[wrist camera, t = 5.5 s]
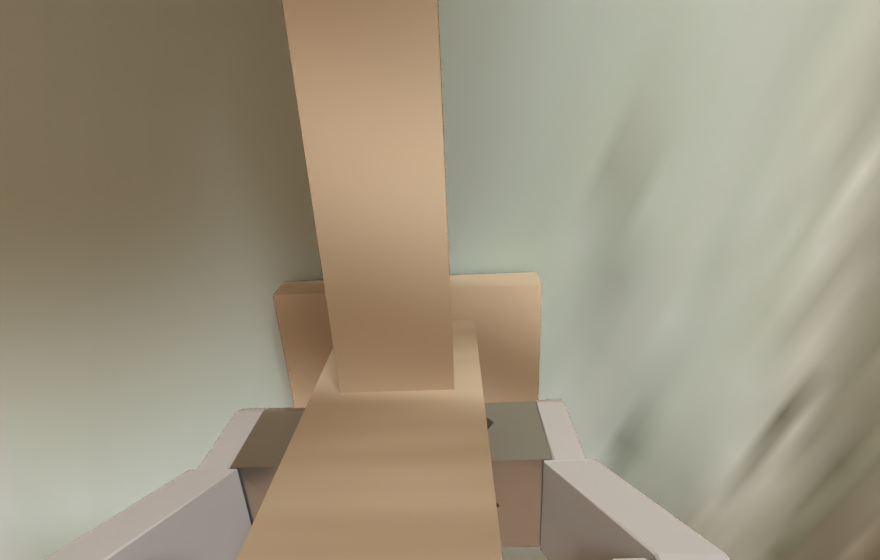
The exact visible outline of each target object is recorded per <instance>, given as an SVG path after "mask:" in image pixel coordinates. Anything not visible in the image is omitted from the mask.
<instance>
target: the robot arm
mask: <svg viewBox="0 0 880 560" xmlns="http://www.w3.org/2000/svg"><path fill="white" fill-rule="evenodd" d="M484 404H485V412H486V421H487V429H488V437H489V446H490V454H491V463H492V471H493V480H494V488H495V496H496V505H497V513H498V522H499V530H500V539H501V546H523V547H540V550H541V551H542V552H543V553H544V555H545V556H546V557H547V558H548V560H730V559H729V557H728V556H727V554H725V553H724V552H723V551H721V550H720V549H719V548H717V547H716V546H714V545H713V544H712V543H710V542H709V541H707V540H706V539H705V538H703V537H702V536H701V535H699V534H698V533H696V532H695V531H694V530H692V529H691V528H689V527H688V526H687V525H685V524H684V523H683V522H681V521H680V520H678V519H677V518H676V517H674V516H673V515H671V514H670V513H669V512H667V511H666V510H665V509H663V508H662V507H660V506H659V505H658V504H656V503H655V502H653V501H652V500H651V499H649V498H648V497H647V496H645V495H644V494H642V493H641V492H640V491H638V490H637V489H635V488H634V487H633V486H631V485H630V484H628V483H627V482H626V481H624V480H623V479H622V478H620V477H619V476H617V475H616V474H615V473H613V472H612V471H610V470H609V469H608V468H606V467H605V466H604V465H602V464H601V463H599V462H598V461H597V460H595V459H586V457H585V454H584V452H583V449H582V446H581V444H580V441H579V439H578V436H577V433H576V431H575V428H574V426H573V423H572V421H571V418H570V415H569V413H568V410H567V408H566V405H565V403H564V401H563V400H562V399H547V400H534V401H524V402H499V403H484ZM304 410H305V408H268V409H266V408H253V409H241V410H239V411H237V412H236V413H235V414H234V416H233V417H232V419H231V420H230V422H229V423H228V425H227V426H226V428H225V429H224V431H223V432H222V434H221V435H220V437H219V438H218V440H217V441H216V442H215V444H214V445H213V447H212V448H211V450H210V451H209V453H208V454H207V456H206V457H205V459H204V460H203V462H202V463H201V465H200V466H199V467H198V469H197V470H188V471H186V472H185V473H183V474H181V475H180V476H178V477H176V478H175V479H173V480H172V481H170V482H168V483H167V484H165V485H164V486H162V487H160V488H159V489H157V490H156V491H154V492H152V493H151V494H149V495H148V496H146V497H144V498H143V499H141V500H140V501H138V502H136V503H135V504H133V505H131V506H130V507H128V508H127V509H125V510H123V511H122V512H120V513H119V514H117V515H115V516H114V517H112V518H111V519H109V520H107V521H106V522H104V523H103V524H101V525H99V526H98V527H96V528H94V529H93V530H91V531H90V532H88V533H86V534H85V535H83V536H82V537H80V538H78V539H77V540H75V541H74V542H72V543H70V544H69V545H67V546H66V547H64V548H62V549H61V550H59V551H57V552H56V553H54V554H53V555H51V556H49V557H48V558H46V559H45V560H236V559H237V557H238V555H239V553H240V550H241V548H242V546H243V544H244V542H245V539H246V537H247V535H248V533H249V531H250V528H251V526H252V524H253V522H254V520H255V518H256V515H257V513H258V511H259V509H260V507H261V504H262V502H263V500H264V498H265V496H266V493H267V491H268V489H269V487H270V485H271V483H272V480H273V478H274V476H275V474H276V472H277V469H278V467H279V465H280V463H281V461H282V458H283V456H284V454H285V452H286V450H287V447H288V445H289V443H290V441H291V439H292V437H293V434H294V432H295V430H296V428H297V426H298V423H299V421H300V419H301V417H302V415H303V412H304Z"/></svg>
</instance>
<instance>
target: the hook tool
mask: <svg viewBox="0 0 880 560" xmlns="http://www.w3.org/2000/svg"><path fill="white" fill-rule="evenodd" d="M282 3H283V10H284V17H285V24H286V30H287V37H288V44H289V51H290V58H291V64H292V71H293V78H294V85H295V91H296V98H297V105H298V112H299V118H300V125H301V132H302V139H303V145H304V152H305V159H306V166H307V173H308V179H309V186H310V193H311V200H312V206H313V213H314V220H315V227H316V233H317V240H318V247H319V254H320V260H321V267H322V274H323V280H318V281H292V282H284V283H283V284H282V285H281V286H280V287H279V289H278V290H277V291H276V292H275V293H274V294H273V298H274V303H275V308H276V314H277V319H278V324H279V329H280V334H281V340H282V345H283V350H284V355H285V360H286V366H287V371H288V376H289V381H290V386H291V392H292V397H293V402H294V407H295V408H305V410H304V412H303V415H302V417H301V419H300V421H299V423H298V426H297V428H296V430H295V432H294V434H293V437H292V439H291V441H290V443H289V445H288V447H287V450H286V452H285V454H284V456H283V458H282V461H281V463H280V465H279V467H278V469H277V472H276V474H275V476H274V478H273V480H272V483H271V485H270V487H269V489H268V491H267V493H266V496H265V498H264V500H263V502H262V504H261V507H260V509H259V511H258V513H257V515H256V518H255V520H254V522H253V524H252V526H251V528H250V531H249V533H248V535H247V537H246V539H245V542H244V544H243V546H242V548H241V550H240V553H239V555H238V557H237V559H236V560H503V556H502V547H501V539H500V530H499V522H498V513H497V505H496V496H495V488H494V480H493V471H492V463H491V454H490V446H489V437H488V429H487V421H486V412H485V404H484V403H499V402H524V401H534V400H538V390H539V360H540V330H541V301H542V284H541V282H540V280H539V278H538V276H537V274H536V272H524V273H499V274H473V275H450V269H449V246H448V222H447V199H446V176H445V152H444V129H443V106H442V82H441V59H440V35H439V12H438V0H282Z"/></svg>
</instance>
